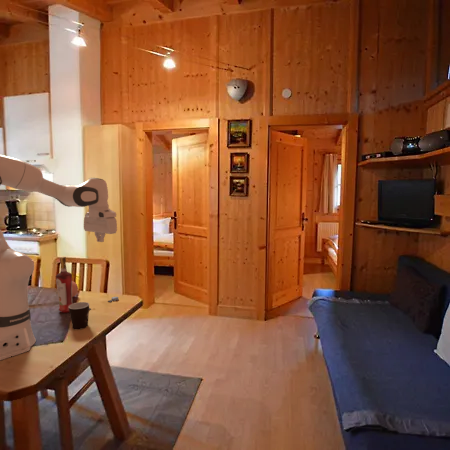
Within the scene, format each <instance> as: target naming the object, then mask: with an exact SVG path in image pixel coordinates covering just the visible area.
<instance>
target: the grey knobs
mask: <svg viewBox="0 0 450 450" xmlns="http://www.w3.org/2000/svg"><path fill="white" fill-rule="evenodd" d="M116 300H117V301H119V296H113V297H111V299H109V300H108V301H107V302H108V303H113V302H116ZM112 301H113V302H112ZM90 310H92V308H90V307H89V311H90Z"/></svg>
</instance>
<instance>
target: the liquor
mask: <svg viewBox="0 0 450 450" xmlns="http://www.w3.org/2000/svg"><path fill="white" fill-rule="evenodd" d="M59 262H60V270H59V273H57V274H55V279H56V288H57V297H58V306H59V307H58V311H59V312H60V313H62V314H63V313H64V314H65V313H66V314H67V313H70V312H69V306H70V305H71V304H73V297H72V281H73V273H71V272H69V271H68V268H67V257H66V256H60V257H59Z"/></svg>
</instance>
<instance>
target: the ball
mask: <svg viewBox="0 0 450 450" xmlns="http://www.w3.org/2000/svg"><path fill="white" fill-rule="evenodd" d="M78 292H79V286H78V284H77V283H76V282H75V281H73V280H72V298H74V297H75V296H76V295H77V294H78Z"/></svg>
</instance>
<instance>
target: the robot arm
mask: <svg viewBox="0 0 450 450" xmlns="http://www.w3.org/2000/svg"><path fill="white" fill-rule="evenodd" d="M0 186H5V187H8V188H12V189H15V190H20V191H24V192H29V193H33V192H34V193H40V194H42V195H45V196H49V197H51V198H52V199H53V198H54V199H55V200H56V201H58V202H59V203H60V204H62V205H63V206H65V207H68V208H69V207H75V208H76V207H77V208H84V207H88V211H87V212H86V213H85V214H84V218H83V230H84V231H85V232H91V233H94V236H95V237H96V242H98V243H103V242H104V241H105V237H106V234H108V235H114V234H116V233H117V231H118V226H117V225H118V223H117V219H116V217H117V212H116V211H114V210H112V209H111V208H109V202H108V199H109V189H108V185H107V182H106V180H104V179H103V178H98V177H89V178H88V179H86V181H84V182H82V183H80V184H78V185H75V184H73V185H72V184H62V185H61V184H59V183H57V182H53V181H50V180H49V179H46V178H44V176H43V173H42V171H41V169H39V168H38V167H36V166H35V165H32V164H31V163H29V162H25V161H24V160H21V159H18V158H16V157H15V158H14V157H11V156H6V155H2V154H0ZM34 270H35V263H34V260H33V259H32V258H31V257H30V256H28V255H27V254H25V253H24V252H22V251H18V250H14V249H13V248H11V246H10V245H9V244H8V242H7V240H6V238H5V237H4V232H3V231H2V229H0V361H3V360H5V359H8V358H12V357H14V356H17V355H21V354H23V353H26V352H28V351H30V350H31V347H33V345H35V343H36V340H37V339H36V338H35V335H34V332H33V330H32V325H31V324H32V323H31V316H32V315H31V309H30V307H29V297H28V288H29V281H30V278H31V277H30V276H32V275H33V273H34ZM11 356H12V357H11Z"/></svg>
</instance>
